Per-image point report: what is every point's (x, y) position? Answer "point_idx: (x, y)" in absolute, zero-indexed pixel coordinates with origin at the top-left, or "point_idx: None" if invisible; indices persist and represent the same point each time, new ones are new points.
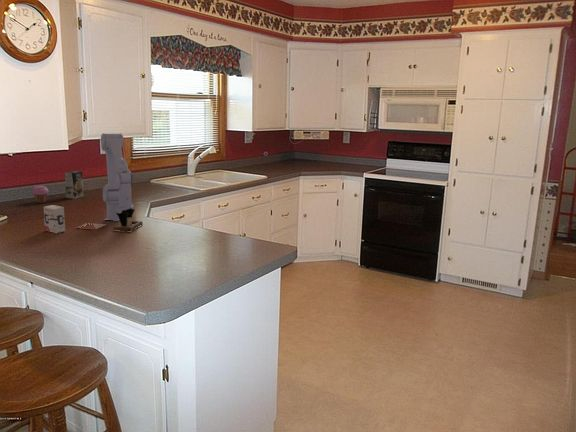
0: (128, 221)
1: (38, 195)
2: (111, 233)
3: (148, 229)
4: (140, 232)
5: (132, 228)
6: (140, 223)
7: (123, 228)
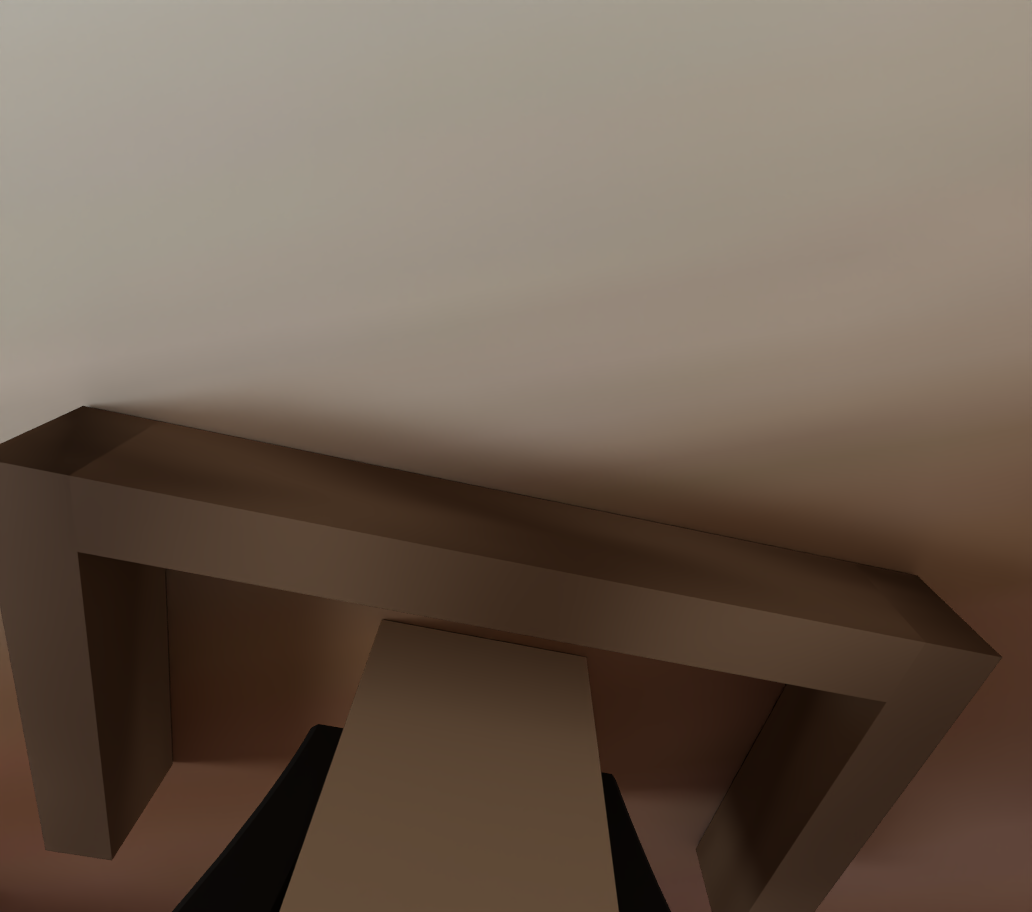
0: (569, 856)
1: None
2: (914, 853)
3: (576, 90)
4: (976, 304)
5: (794, 587)
6: (169, 474)
7: (889, 780)
